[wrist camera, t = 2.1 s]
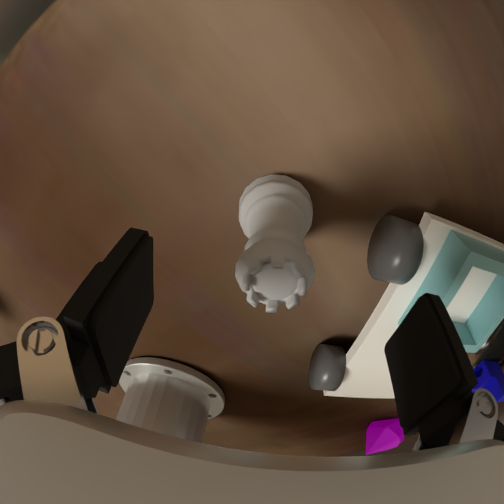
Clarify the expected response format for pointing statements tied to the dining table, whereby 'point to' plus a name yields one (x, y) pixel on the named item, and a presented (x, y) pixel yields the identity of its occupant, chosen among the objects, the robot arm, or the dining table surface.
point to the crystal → (383, 435)
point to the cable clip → (490, 379)
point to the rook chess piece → (275, 242)
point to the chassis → (409, 290)
